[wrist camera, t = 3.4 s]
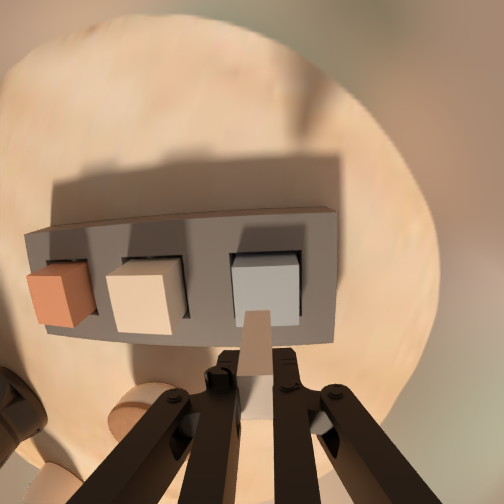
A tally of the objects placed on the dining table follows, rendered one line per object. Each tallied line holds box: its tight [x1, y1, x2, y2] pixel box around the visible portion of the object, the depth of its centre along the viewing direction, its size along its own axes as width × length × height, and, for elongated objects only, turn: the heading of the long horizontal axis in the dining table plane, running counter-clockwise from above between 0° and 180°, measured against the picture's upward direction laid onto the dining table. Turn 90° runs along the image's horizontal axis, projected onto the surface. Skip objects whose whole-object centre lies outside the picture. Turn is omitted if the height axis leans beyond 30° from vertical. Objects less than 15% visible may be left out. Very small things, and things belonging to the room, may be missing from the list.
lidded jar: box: [108, 382, 190, 462], centre depth 31 cm, size 11×11×9 cm
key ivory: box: [106, 258, 187, 335], centre depth 25 cm, size 5×5×5 cm
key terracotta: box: [26, 261, 97, 328], centre depth 25 cm, size 5×5×5 cm
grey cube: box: [232, 250, 299, 327], centre depth 25 cm, size 5×5×5 cm
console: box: [24, 207, 338, 347], centre depth 28 cm, size 32×12×5 cm, turn 93°
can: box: [21, 462, 83, 504], centre depth 37 cm, size 12×12×20 cm
